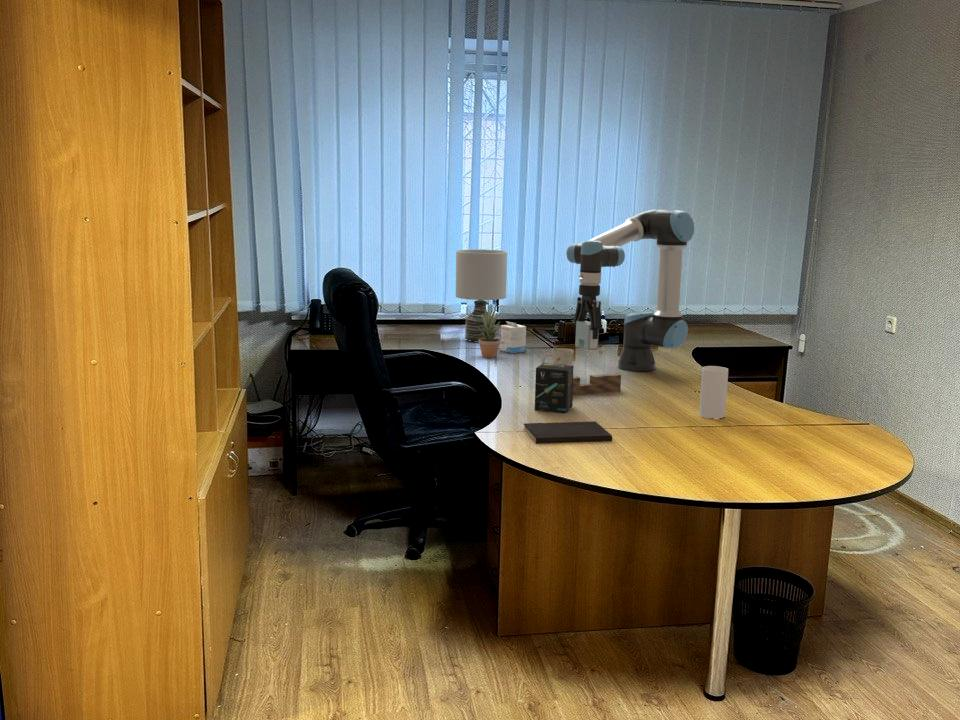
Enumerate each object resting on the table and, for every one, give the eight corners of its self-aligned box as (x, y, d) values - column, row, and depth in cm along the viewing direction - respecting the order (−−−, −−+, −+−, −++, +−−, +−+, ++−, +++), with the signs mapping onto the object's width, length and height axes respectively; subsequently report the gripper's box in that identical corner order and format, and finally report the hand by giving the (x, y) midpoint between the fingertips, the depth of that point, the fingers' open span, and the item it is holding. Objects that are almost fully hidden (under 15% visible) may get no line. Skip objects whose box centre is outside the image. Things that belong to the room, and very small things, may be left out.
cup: (710, 420, 285) (714, 371, 282) (693, 414, 292) (697, 367, 289) (730, 417, 289) (733, 369, 286) (712, 412, 296) (716, 365, 293)
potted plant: (495, 353, 391) (497, 298, 386) (503, 357, 382) (504, 300, 377) (474, 354, 388) (475, 298, 383) (481, 358, 379) (482, 301, 374)
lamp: (505, 345, 413) (507, 253, 404) (453, 343, 413) (455, 252, 405) (504, 336, 436) (506, 249, 428) (455, 335, 436) (457, 248, 428)
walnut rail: (616, 389, 326) (617, 373, 325) (620, 391, 324) (621, 375, 323) (547, 394, 316) (548, 377, 315) (551, 396, 314) (551, 379, 313)
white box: (526, 352, 396) (527, 322, 394) (511, 353, 392) (511, 323, 389) (514, 348, 403) (515, 319, 401) (499, 350, 399) (500, 321, 396)
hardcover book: (523, 430, 271) (523, 423, 271) (595, 428, 275) (595, 421, 275) (535, 445, 256) (536, 437, 255) (612, 443, 260) (612, 435, 259)
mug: (571, 377, 345) (572, 352, 343) (539, 375, 347) (540, 350, 345) (573, 373, 353) (574, 348, 351) (542, 371, 355) (543, 347, 353)
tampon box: (572, 407, 299) (574, 364, 296) (566, 413, 290) (568, 370, 287) (541, 404, 302) (542, 362, 299) (534, 410, 294) (535, 367, 291)
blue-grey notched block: (584, 345, 326) (586, 320, 325) (597, 349, 317) (599, 324, 315) (575, 345, 325) (576, 321, 323) (587, 350, 316) (588, 325, 314)
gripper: (566, 281, 326) (563, 340, 330) (595, 287, 305) (591, 351, 309) (584, 281, 328) (581, 340, 332) (614, 287, 308) (610, 350, 312)
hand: (586, 345), depth 321 cm, fingers closed on blue-grey notched block, 10 cm apart
